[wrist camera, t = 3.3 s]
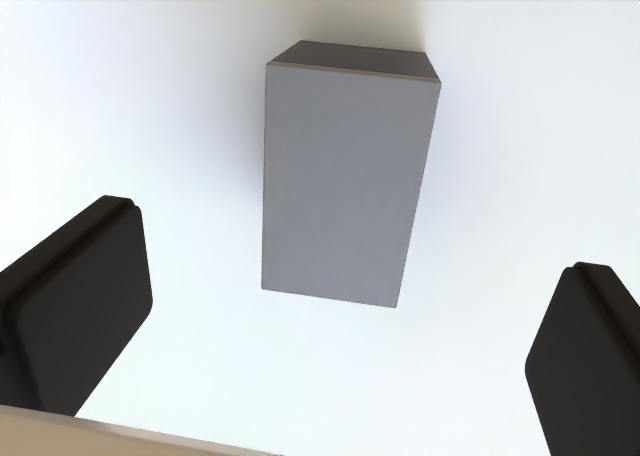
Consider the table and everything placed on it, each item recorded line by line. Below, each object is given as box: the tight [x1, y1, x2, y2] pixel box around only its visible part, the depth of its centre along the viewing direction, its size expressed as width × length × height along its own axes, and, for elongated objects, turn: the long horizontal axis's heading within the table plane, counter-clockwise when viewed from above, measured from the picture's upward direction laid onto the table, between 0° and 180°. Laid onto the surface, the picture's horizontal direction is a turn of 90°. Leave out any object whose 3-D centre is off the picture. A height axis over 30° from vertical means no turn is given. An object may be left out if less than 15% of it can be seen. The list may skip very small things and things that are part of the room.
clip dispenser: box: [261, 40, 441, 308], centre depth 17 cm, size 5×8×6 cm, turn 176°
